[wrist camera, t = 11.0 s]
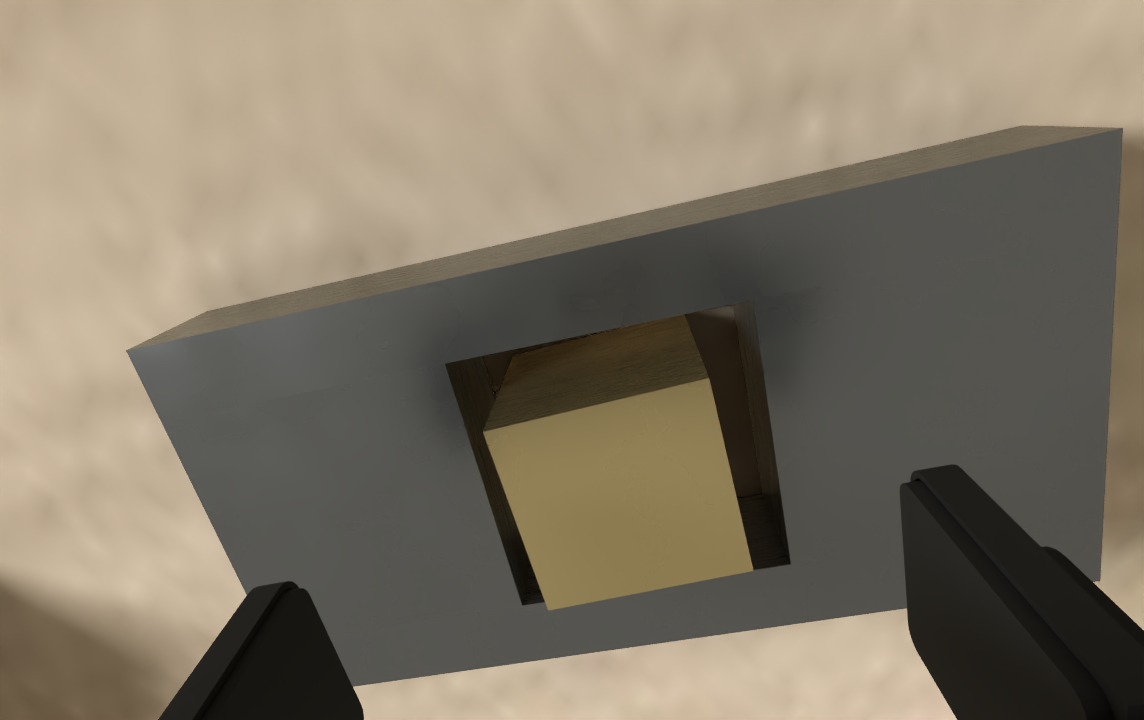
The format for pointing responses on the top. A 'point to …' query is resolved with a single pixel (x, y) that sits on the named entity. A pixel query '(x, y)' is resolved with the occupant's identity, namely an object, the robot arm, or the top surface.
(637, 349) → the brass cube
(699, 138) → the top surface
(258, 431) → the grey square hole block
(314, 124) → the top surface
